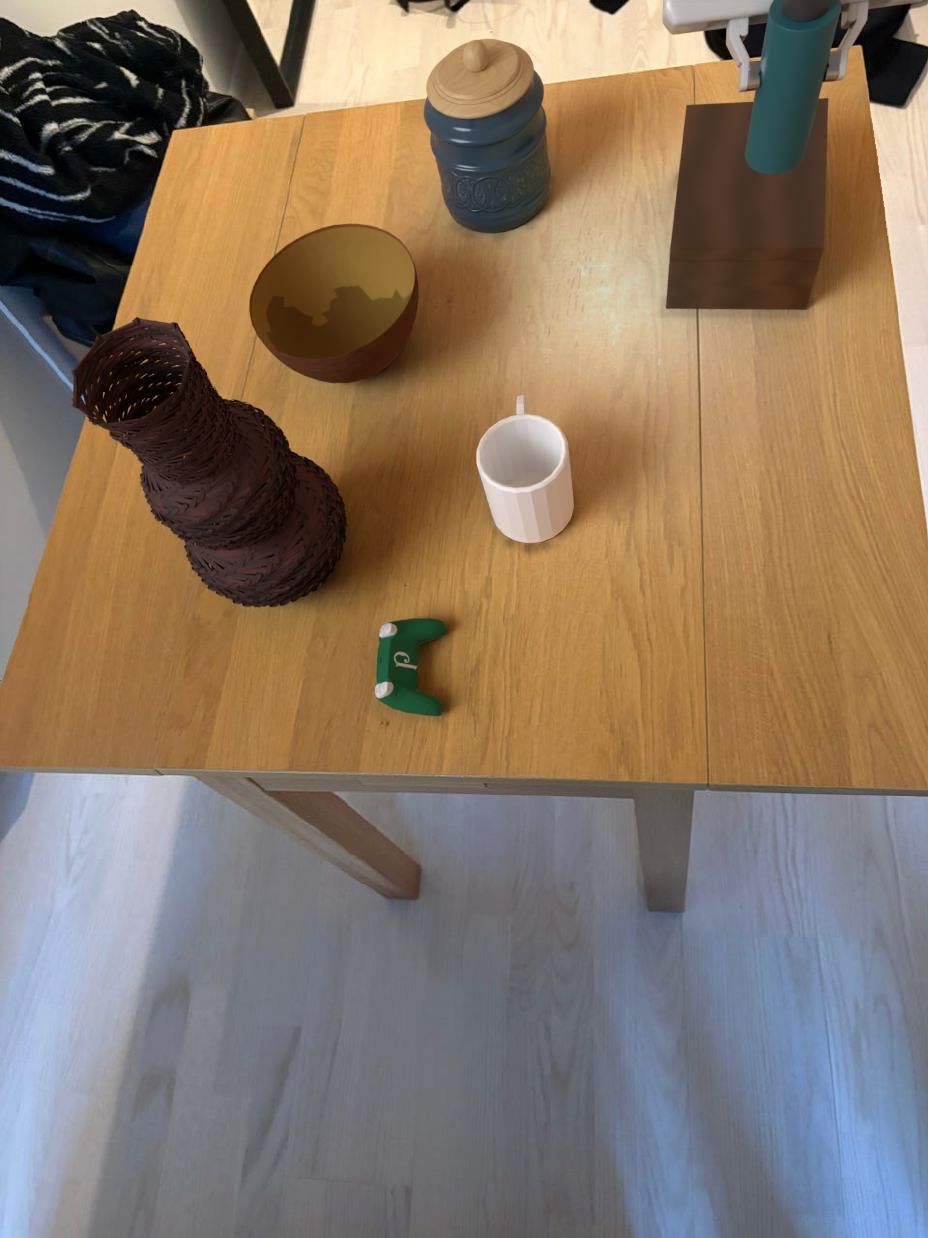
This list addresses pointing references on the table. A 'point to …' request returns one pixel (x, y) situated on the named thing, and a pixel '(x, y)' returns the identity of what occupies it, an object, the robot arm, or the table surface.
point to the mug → (526, 475)
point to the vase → (214, 468)
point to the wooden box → (744, 217)
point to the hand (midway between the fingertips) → (791, 85)
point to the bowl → (337, 302)
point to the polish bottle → (790, 82)
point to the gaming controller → (405, 665)
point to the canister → (489, 135)
